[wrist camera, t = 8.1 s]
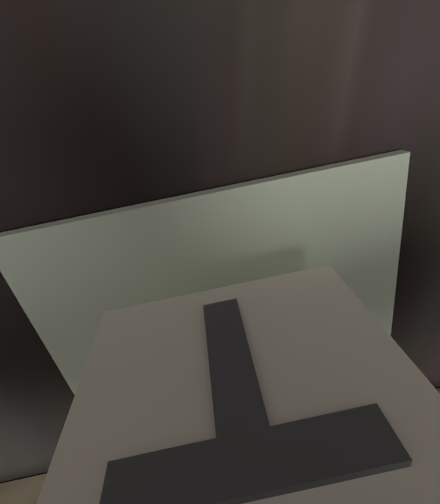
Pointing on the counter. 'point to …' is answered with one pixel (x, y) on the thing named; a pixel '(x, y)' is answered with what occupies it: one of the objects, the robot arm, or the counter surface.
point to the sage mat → (209, 248)
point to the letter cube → (249, 403)
